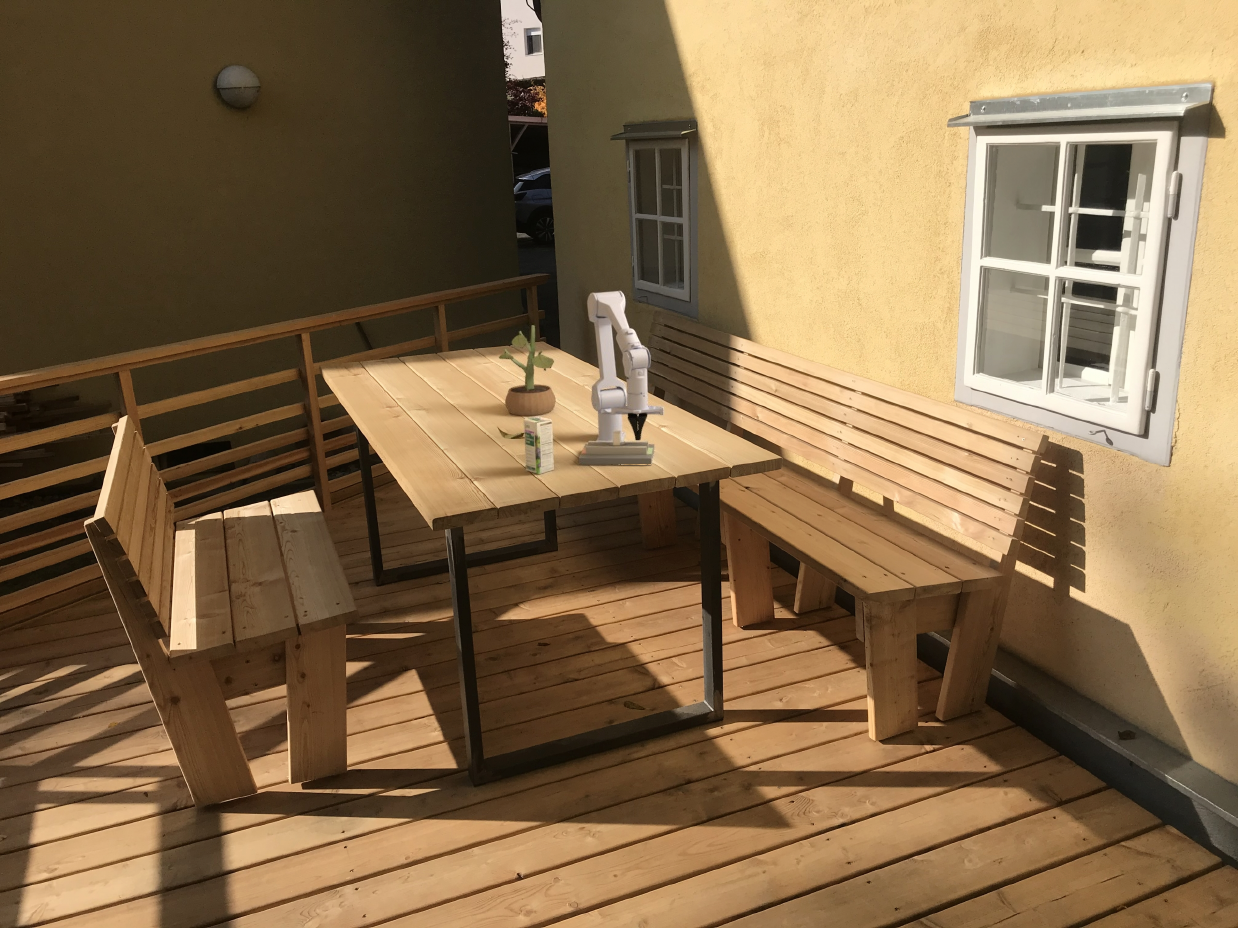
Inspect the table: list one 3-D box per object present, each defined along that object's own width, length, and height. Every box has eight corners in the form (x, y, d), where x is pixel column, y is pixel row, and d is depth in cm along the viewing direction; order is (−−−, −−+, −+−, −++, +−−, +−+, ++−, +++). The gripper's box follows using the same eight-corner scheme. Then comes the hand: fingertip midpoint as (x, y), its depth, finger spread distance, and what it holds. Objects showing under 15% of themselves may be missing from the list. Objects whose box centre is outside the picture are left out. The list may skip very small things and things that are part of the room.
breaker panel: (585, 450, 286) (585, 437, 285) (654, 450, 284) (654, 437, 282) (579, 465, 272) (578, 451, 271) (651, 465, 270) (650, 451, 269)
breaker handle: (610, 448, 279) (610, 430, 278) (624, 448, 279) (624, 430, 277) (609, 452, 276) (609, 433, 274) (623, 452, 276) (623, 433, 274)
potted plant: (496, 408, 337) (491, 321, 328) (547, 403, 343) (542, 317, 334) (515, 424, 317) (510, 331, 308) (568, 417, 323) (564, 326, 314)
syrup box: (525, 470, 269) (522, 419, 264) (541, 465, 273) (539, 415, 268) (538, 474, 265) (535, 422, 261) (555, 470, 269) (552, 418, 264)
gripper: (609, 395, 269) (610, 443, 273) (662, 395, 267) (663, 443, 271) (612, 389, 275) (613, 436, 279) (664, 389, 274) (664, 436, 278)
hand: (638, 439), depth 276 cm, fingers closed
